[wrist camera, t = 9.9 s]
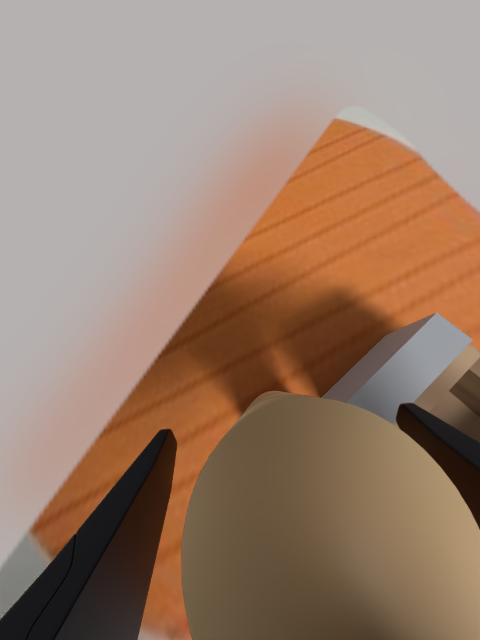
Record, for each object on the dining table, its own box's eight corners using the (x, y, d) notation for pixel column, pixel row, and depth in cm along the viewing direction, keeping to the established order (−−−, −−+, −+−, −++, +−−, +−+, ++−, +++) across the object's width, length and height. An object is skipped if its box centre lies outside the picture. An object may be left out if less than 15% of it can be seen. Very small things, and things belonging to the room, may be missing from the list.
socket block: (446, 544, 12) (529, 615, 8) (337, 426, 15) (363, 439, 11) (527, 445, 13) (634, 469, 9) (413, 350, 16) (461, 337, 12)
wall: (342, 421, 15) (380, 436, 10) (320, 397, 15) (346, 401, 10) (409, 354, 15) (472, 339, 11) (385, 335, 16) (436, 312, 11)
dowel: (274, 465, 14) (341, 950, 2) (236, 416, 15) (129, 522, 3) (316, 424, 15) (581, 602, 2) (276, 379, 16) (319, 347, 4)
